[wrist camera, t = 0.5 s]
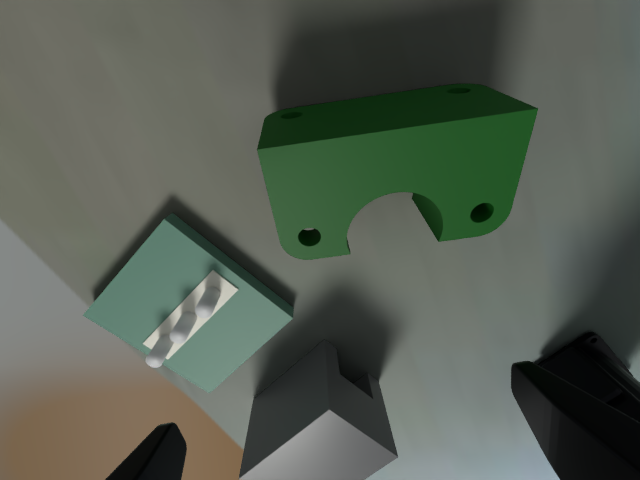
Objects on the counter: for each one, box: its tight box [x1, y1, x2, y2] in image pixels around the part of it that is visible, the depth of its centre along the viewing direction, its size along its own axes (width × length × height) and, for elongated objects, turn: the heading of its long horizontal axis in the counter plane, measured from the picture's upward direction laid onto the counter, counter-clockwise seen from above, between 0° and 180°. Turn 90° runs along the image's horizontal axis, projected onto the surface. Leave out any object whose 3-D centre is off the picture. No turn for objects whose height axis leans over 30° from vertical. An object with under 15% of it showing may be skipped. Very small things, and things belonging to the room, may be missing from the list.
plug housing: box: [239, 339, 398, 480], centre depth 23 cm, size 6×8×6 cm
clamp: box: [257, 84, 538, 260], centre depth 17 cm, size 12×6×9 cm, turn 92°
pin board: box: [83, 213, 294, 393], centre depth 21 cm, size 10×9×3 cm
